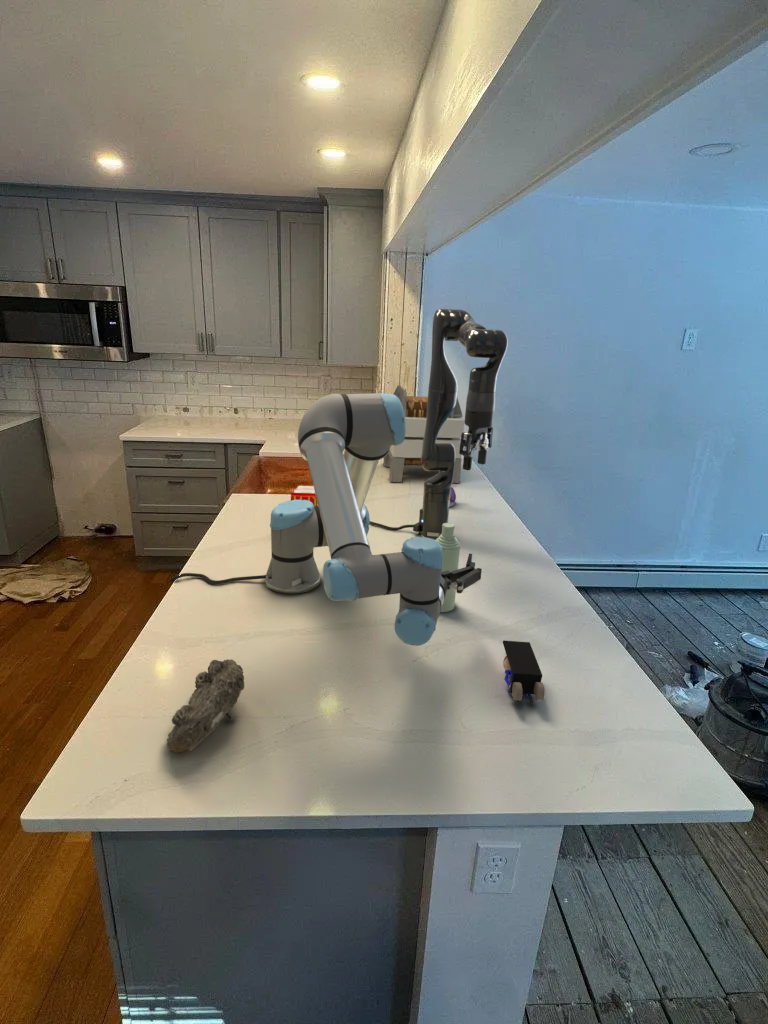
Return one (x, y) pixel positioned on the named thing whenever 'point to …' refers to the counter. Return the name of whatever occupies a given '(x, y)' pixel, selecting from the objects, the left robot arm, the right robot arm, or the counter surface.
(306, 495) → the toy
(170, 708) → the counter surface
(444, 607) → the bottle
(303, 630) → the counter surface
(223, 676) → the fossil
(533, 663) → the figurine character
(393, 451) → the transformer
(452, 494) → the figurine
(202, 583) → the counter surface
